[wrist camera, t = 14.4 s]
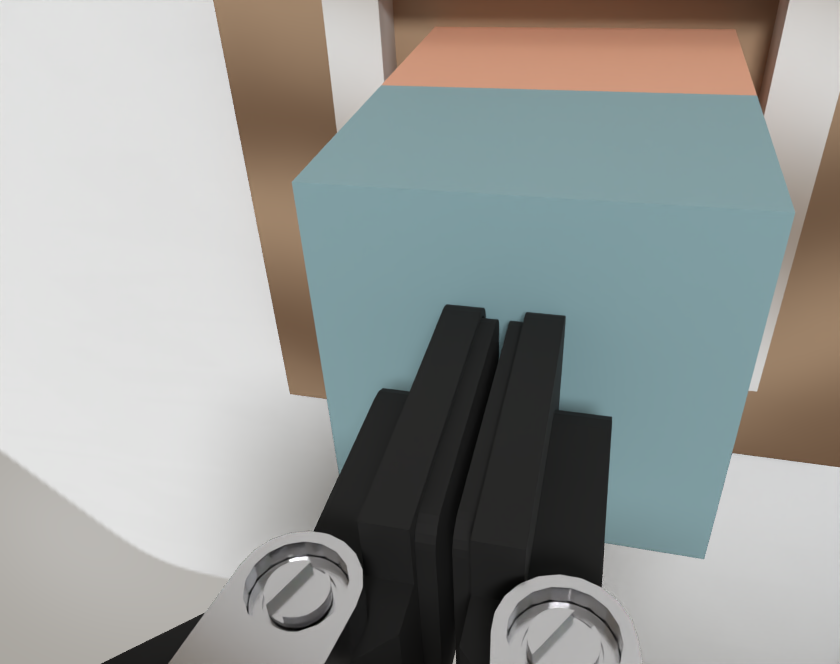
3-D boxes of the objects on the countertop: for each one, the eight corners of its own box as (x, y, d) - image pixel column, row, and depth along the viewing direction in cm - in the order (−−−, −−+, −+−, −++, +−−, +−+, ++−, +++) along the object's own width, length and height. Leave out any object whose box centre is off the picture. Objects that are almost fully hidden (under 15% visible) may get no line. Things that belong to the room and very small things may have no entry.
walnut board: (201, -248, 15) (135, -253, 13) (1120, -323, 12) (1214, -346, 10) (307, 365, 25) (277, 414, 23) (839, 430, 21) (858, 496, 19)
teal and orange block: (435, 26, 16) (291, 181, 10) (735, 29, 15) (795, 212, 8) (444, 269, 19) (343, 500, 13) (687, 290, 18) (704, 559, 12)
